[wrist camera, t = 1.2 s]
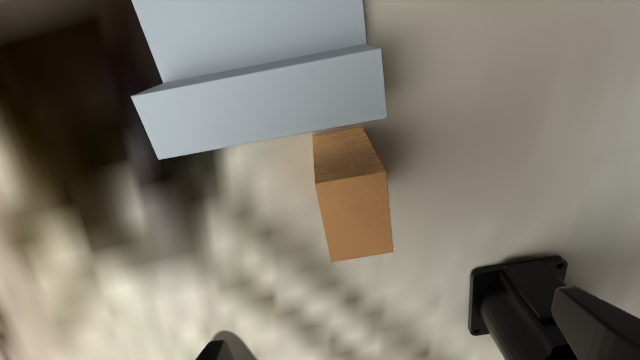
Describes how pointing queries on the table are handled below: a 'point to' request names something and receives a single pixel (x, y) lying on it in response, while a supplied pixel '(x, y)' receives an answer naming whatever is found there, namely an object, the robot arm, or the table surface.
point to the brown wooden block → (352, 195)
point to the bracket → (255, 71)
